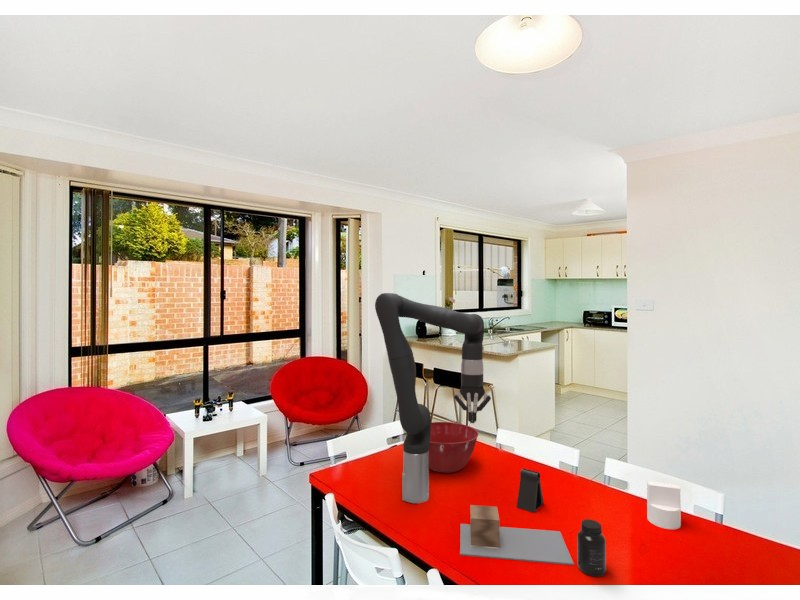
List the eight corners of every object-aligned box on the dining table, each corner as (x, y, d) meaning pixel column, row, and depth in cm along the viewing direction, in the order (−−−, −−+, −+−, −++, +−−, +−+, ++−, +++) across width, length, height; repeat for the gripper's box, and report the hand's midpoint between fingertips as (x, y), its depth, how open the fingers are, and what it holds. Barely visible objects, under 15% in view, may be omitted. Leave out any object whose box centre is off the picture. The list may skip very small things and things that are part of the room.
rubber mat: (460, 555, 116) (460, 553, 116) (460, 524, 132) (460, 523, 132) (573, 565, 111) (573, 563, 111) (560, 532, 127) (560, 531, 127)
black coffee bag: (533, 513, 139) (533, 477, 139) (516, 507, 143) (516, 472, 143) (543, 503, 146) (543, 469, 146) (527, 498, 150) (527, 464, 150)
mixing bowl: (484, 481, 164) (484, 442, 164) (411, 481, 164) (411, 441, 165) (472, 455, 192) (472, 421, 192) (410, 455, 193) (410, 421, 193)
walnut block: (470, 546, 119) (470, 518, 120) (470, 531, 127) (470, 504, 127) (499, 548, 118) (499, 520, 118) (497, 533, 126) (497, 506, 126)
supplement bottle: (572, 561, 113) (572, 517, 113) (596, 560, 113) (596, 516, 114) (586, 578, 106) (585, 531, 106) (611, 577, 107) (611, 529, 107)
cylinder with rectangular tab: (675, 518, 136) (675, 481, 136) (684, 532, 127) (684, 493, 127) (644, 513, 139) (644, 477, 139) (651, 527, 130) (650, 488, 130)
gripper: (452, 373, 141) (452, 425, 141) (492, 374, 139) (492, 426, 139) (453, 369, 148) (453, 418, 148) (491, 370, 146) (491, 420, 146)
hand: (472, 422), depth 143 cm, fingers closed
